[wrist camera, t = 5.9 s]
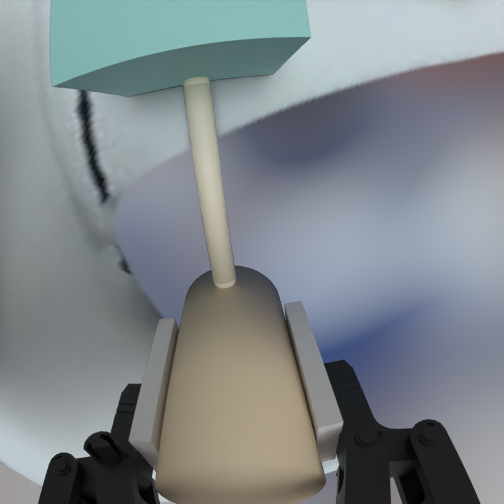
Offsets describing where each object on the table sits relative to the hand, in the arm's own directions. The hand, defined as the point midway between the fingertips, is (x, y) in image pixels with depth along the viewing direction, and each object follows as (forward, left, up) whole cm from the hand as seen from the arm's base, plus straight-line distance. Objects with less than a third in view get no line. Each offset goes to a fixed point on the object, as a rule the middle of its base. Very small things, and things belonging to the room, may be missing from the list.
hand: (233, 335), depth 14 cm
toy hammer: (0, +7, -2) cm, 8 cm away
